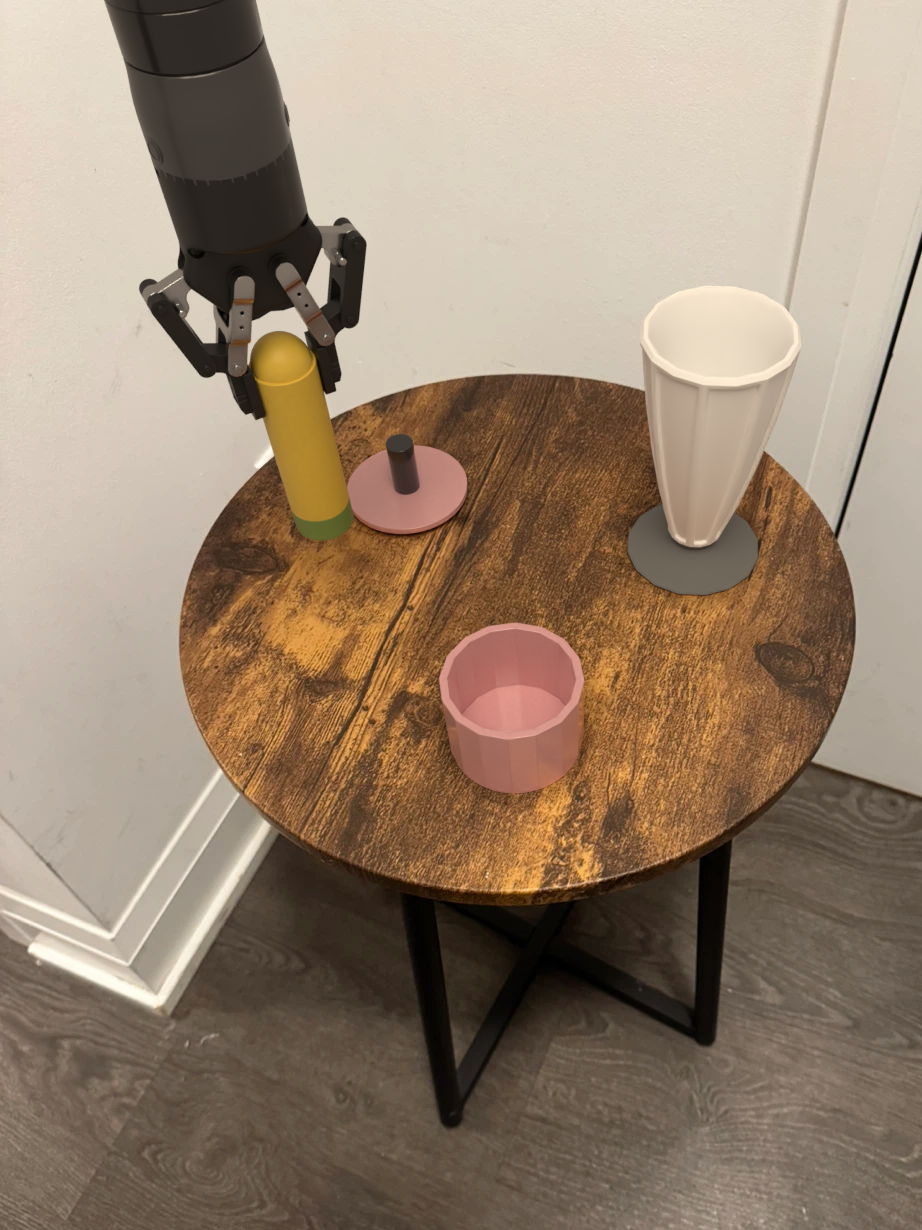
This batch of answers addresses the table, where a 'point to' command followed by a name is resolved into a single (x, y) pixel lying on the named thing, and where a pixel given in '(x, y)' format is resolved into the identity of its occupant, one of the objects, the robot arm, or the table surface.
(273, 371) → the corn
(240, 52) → the robot arm
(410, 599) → the table surface
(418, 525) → the lid
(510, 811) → the table surface
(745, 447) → the cup
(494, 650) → the pot
